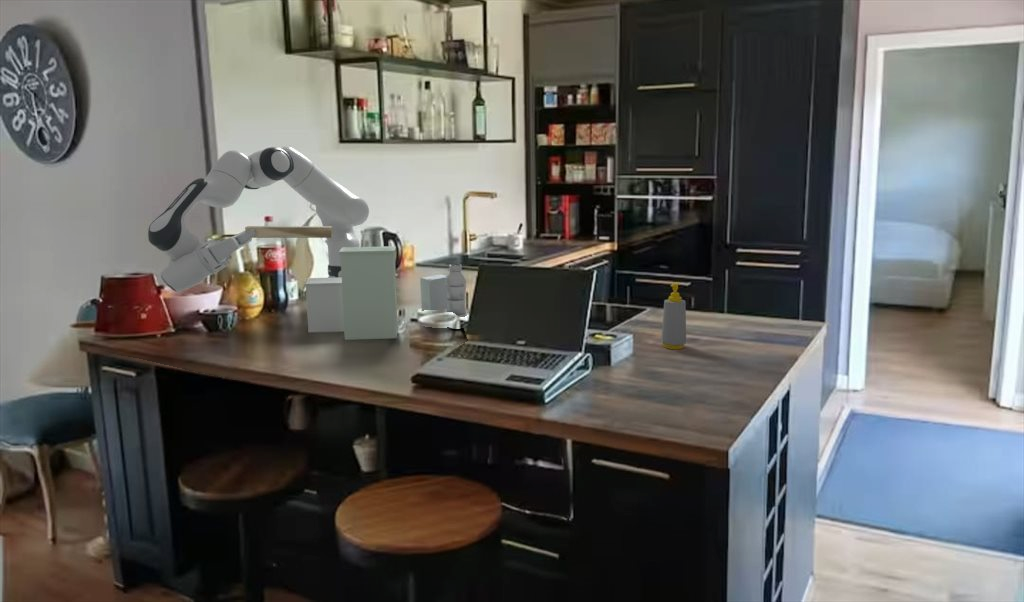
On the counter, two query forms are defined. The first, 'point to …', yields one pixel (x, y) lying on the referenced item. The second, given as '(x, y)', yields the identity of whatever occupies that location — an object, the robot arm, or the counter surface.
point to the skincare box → (433, 293)
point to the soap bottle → (674, 321)
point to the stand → (369, 292)
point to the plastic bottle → (456, 290)
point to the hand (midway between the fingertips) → (256, 230)
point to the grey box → (324, 305)
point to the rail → (291, 231)
